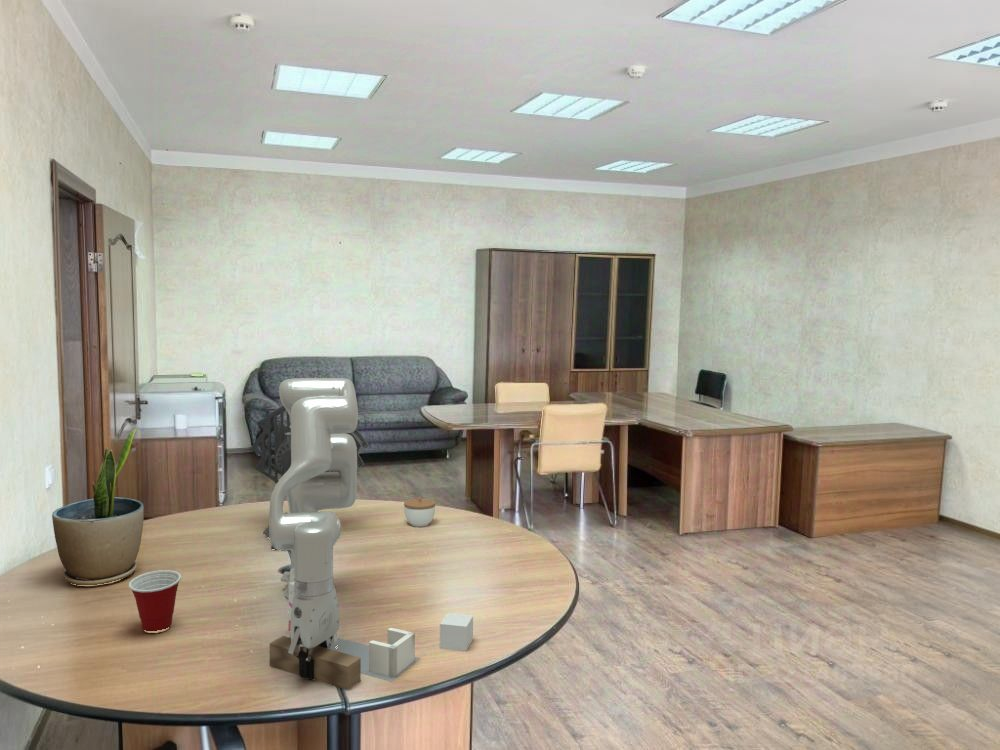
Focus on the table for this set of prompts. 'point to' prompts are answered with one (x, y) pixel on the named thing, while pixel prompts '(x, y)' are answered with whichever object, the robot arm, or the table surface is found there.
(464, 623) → the gray cube
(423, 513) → the lidded jar
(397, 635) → the end cap
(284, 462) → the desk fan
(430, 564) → the table surface
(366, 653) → the mat
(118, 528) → the potted plant
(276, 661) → the brown wooden block
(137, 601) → the plastic cup
